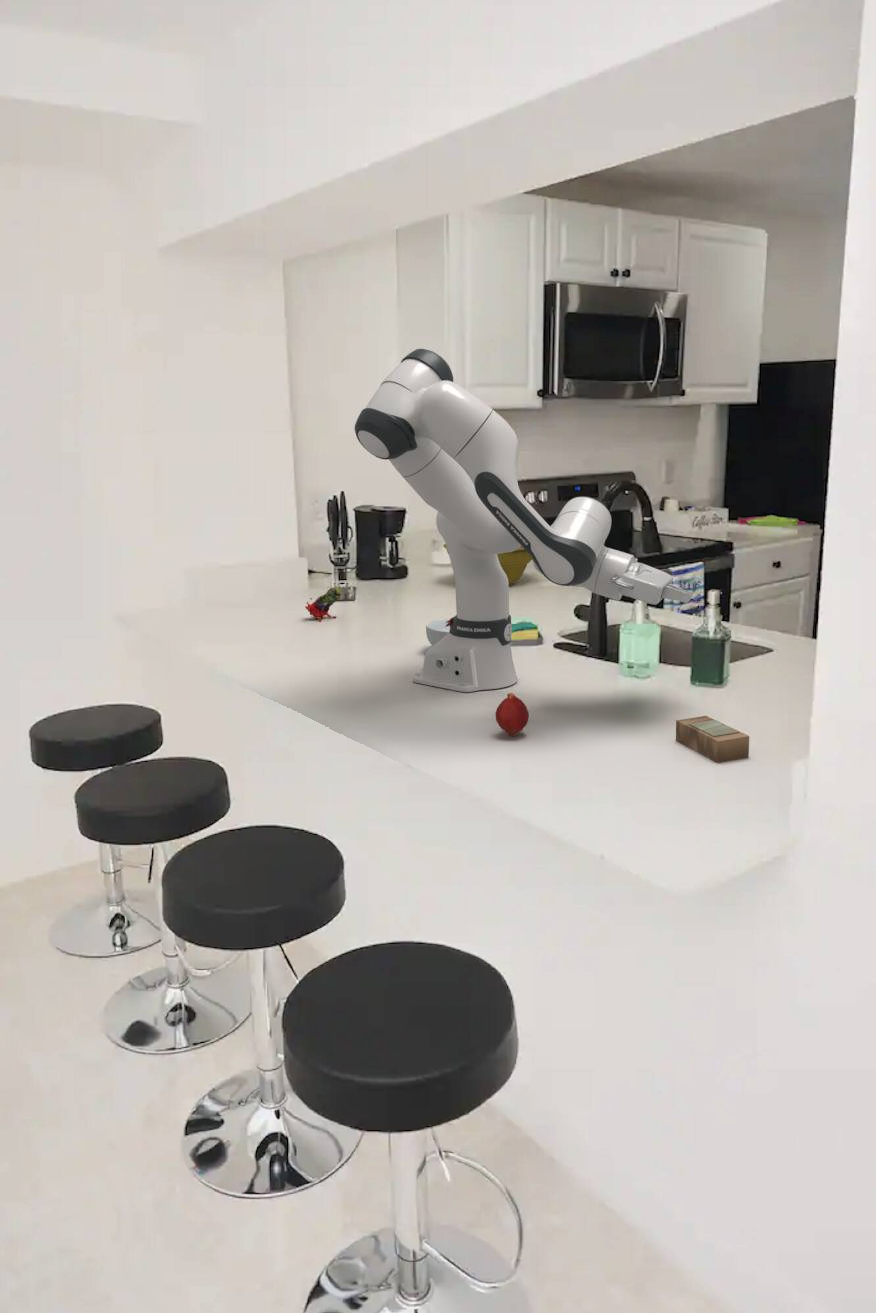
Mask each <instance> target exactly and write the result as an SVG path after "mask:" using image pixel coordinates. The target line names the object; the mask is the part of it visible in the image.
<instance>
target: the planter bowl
mask: <svg viewBox="0 0 876 1313" xmlns="http://www.w3.org/2000/svg"><path fill="white" fill-rule="evenodd" d="M442 547H443V548H445V549H446V551H447V554H448V555H449V553H448V549H447V546H446V543H444V544H443V545H442ZM497 556H498V559H499V562H500V565H501V567H502V569H503V571H504V572H505V574H506V575H507V578H508V582H509V586H512V585H514V584H515V583H516V582H518V581H519V580H521V577H522V575H523V574H524V573H525V570H526V568H527V566H528V564H529V563H530V562H531V561H533V559H532V558H531V556H530V555H529V554H528V553H527V551H526V550H525V549H524V548H523V547H522V546H521V547H519V548H518V549H517V550H515V551H512V552H508V553H502V554H497Z"/></svg>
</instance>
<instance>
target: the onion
mask: <svg viewBox="0 0 876 1313" xmlns="http://www.w3.org/2000/svg"><path fill="white" fill-rule="evenodd" d="M494 716H495V721H496V723H497V724H498V726H499V728H500V729H502V731H505V732H504V733H507V734H508V736H510V737H515V736H516V735H518V734H519V733H520V732H522V731H523V730H524V729H525V727H527V724H528V722H529V720H530V719H529V718H530V713H529V710H528V708H527V705H526V703H524V701H523V700H522V699H520V698H519V697H517V696H516V695H515V694H514V693H513V692H509V693H507V698H504V699H503V700H502V701H501V702H500V703H499V704H498V706H497V708H496V710H495V715H494Z"/></svg>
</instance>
